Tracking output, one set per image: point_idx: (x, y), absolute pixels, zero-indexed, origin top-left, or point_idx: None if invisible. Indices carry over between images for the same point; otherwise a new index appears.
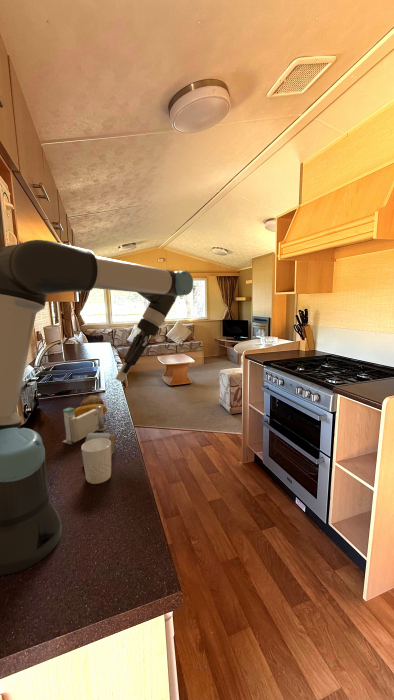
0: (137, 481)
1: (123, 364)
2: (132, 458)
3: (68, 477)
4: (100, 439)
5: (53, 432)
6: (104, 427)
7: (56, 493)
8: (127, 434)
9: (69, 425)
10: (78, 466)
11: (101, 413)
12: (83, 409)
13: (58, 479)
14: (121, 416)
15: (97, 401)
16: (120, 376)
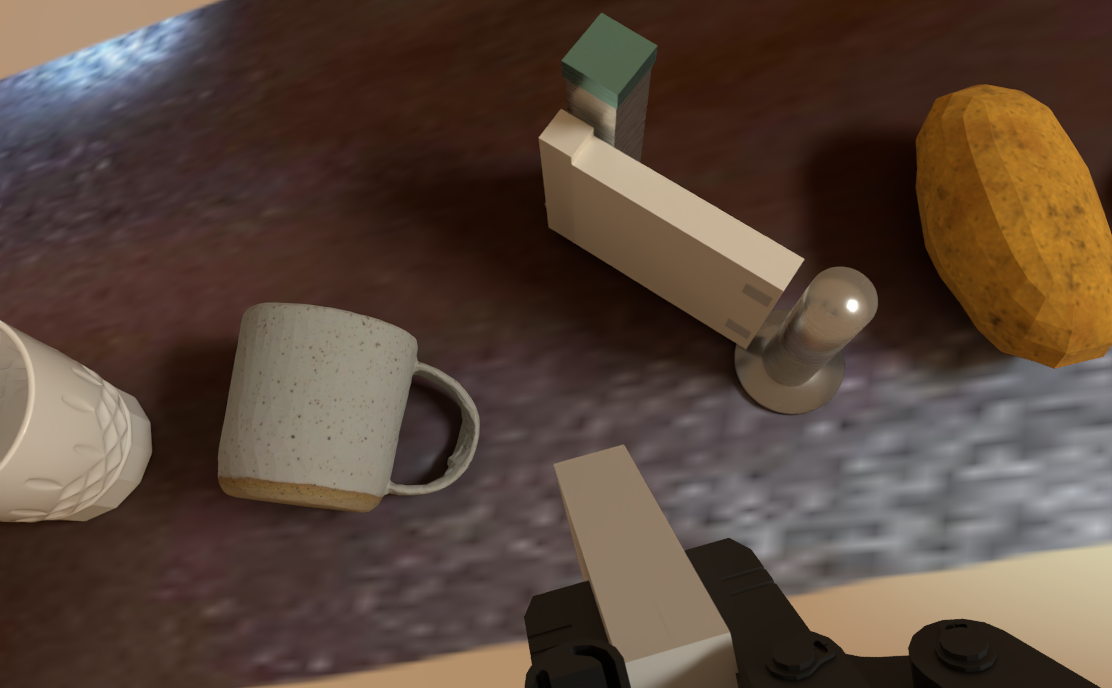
0: None
1: (668, 609)
2: (236, 651)
3: (142, 284)
4: (24, 425)
5: (765, 50)
6: (790, 389)
7: (14, 262)
8: None
9: None
10: None
11: (802, 339)
12: (968, 162)
13: (141, 238)
14: (1043, 511)
15: None
16: (575, 538)
